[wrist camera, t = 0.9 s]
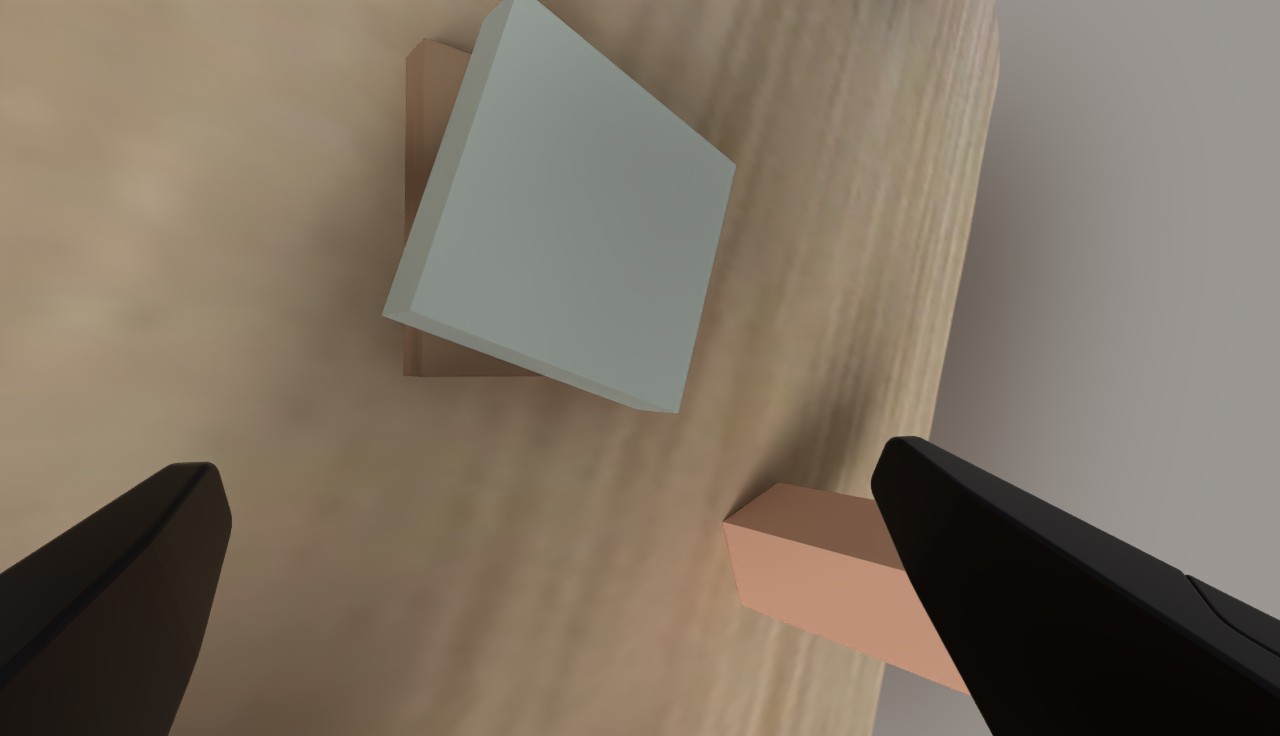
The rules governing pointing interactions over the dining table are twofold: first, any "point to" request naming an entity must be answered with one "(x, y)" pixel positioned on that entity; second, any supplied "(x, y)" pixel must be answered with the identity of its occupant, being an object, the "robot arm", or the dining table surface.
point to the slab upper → (565, 218)
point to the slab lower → (427, 115)
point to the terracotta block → (834, 577)
